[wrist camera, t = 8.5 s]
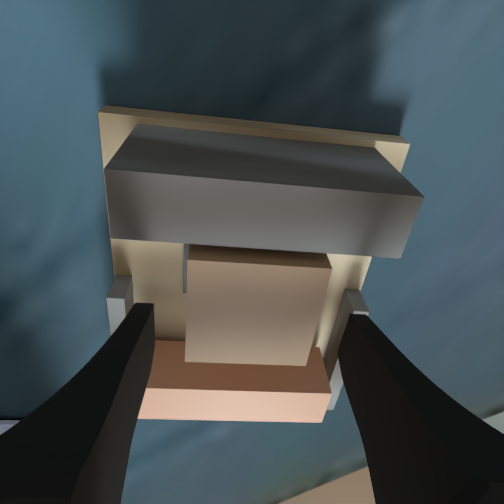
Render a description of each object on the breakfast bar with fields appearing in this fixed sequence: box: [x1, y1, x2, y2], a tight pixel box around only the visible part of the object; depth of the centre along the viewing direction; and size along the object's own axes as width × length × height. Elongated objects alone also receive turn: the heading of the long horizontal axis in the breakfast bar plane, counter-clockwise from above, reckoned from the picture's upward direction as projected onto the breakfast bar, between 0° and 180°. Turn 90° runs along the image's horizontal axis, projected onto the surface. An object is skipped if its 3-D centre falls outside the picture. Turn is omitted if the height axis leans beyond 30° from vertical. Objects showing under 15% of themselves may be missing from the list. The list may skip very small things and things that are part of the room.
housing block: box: [185, 244, 332, 366], centre depth 17 cm, size 5×5×5 cm
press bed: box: [98, 105, 424, 410], centre depth 19 cm, size 16×13×6 cm
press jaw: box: [138, 340, 332, 423], centre depth 21 cm, size 2×10×3 cm, turn 83°
